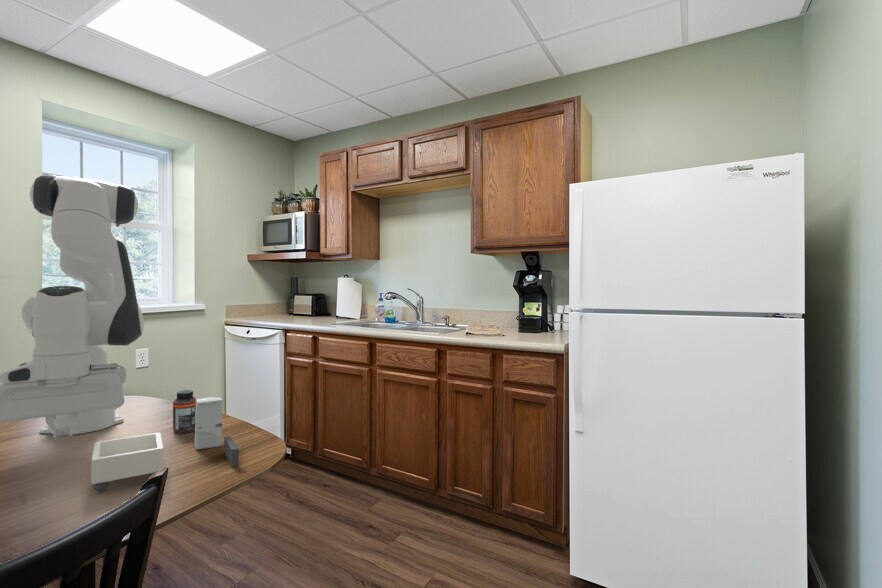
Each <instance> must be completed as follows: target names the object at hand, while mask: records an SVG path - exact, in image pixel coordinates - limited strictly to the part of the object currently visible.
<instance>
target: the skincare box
mask: <svg viewBox="0 0 882 588" xmlns="http://www.w3.org/2000/svg"><path fill="white" fill-rule="evenodd" d="M222 433H223V399H222V397H221V396H213V397H212V396H211V397H204V398H196V409H195V430H194V447H195V450H201V449H209V448H215V447H221V446H222V440H223V439H222V438H223V437H222V436H223V435H222Z"/></svg>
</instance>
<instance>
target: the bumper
mask: <svg viewBox="0 0 882 588" xmlns="http://www.w3.org/2000/svg"><path fill="white" fill-rule="evenodd" d="M223 439H224V441H223V442H224V443H223V444H224V447H223V451H224V455H225V457H226V459H227V461H228V463H229V465H230V467H231V468H233V467H234V468H235V467H239V466H240V465H239V463H240V461H239V459H240V458H239V456H240V455H239V454H240V453H239V451H240V450H239V447H238V446H237V443H236V442H235V440H234V439H233V437H232V436H224V438H223Z"/></svg>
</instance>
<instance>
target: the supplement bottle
mask: <svg viewBox="0 0 882 588" xmlns="http://www.w3.org/2000/svg"><path fill="white" fill-rule="evenodd" d="M193 395H194V390H192V389H184V390H183V389H182V390H179V391H177V392H176V398H175V399H174V400H173V402H172V430H173V433H175V434H187V433H191V431H192V432H193V431H194V432H195V409H196V399H197V398H196V397H195V396H193Z"/></svg>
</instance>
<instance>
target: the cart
mask: <svg viewBox="0 0 882 588" xmlns="http://www.w3.org/2000/svg"><path fill="white" fill-rule="evenodd" d="M90 462H91V463H90V464H91V472H90V473H91V479H90V481H91V485H93V489H94V491H95V492H97V493H103V492H106V490H107V489H108V488H109V485H110V482H112V481H116V480H121V479H123V480H124V479H127V478H132V477H137V476H143V475H147V479H148V478H149V477H150V476H151V475H152V474H154V473H155V472H156V471H158V470H160V469H163V470H164V445H163V439H162V434H161V432H160V431H159V432H153V433H146V434H139V435H131V436H125V437H120V438H119V437H118V438H112V439H105V440H97V441H95V442H94V447H93V451H92V457H91V460H90Z"/></svg>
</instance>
